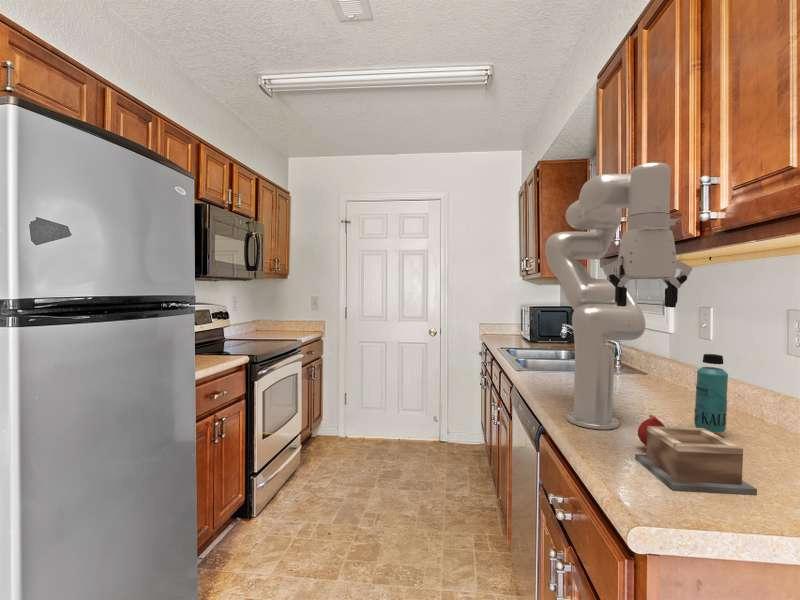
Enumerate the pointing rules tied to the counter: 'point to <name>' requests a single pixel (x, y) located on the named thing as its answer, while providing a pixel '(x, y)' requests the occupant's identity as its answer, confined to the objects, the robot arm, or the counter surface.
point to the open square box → (694, 460)
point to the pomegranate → (643, 428)
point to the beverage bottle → (711, 396)
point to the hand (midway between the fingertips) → (645, 306)
